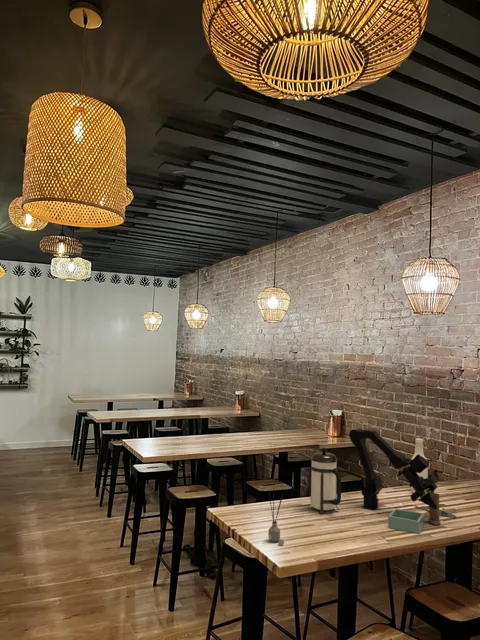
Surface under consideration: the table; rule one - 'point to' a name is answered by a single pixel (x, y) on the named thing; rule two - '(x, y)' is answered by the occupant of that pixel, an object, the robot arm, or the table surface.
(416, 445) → the alcohol
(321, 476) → the coffee press
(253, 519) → the table surface
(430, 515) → the brown tower block
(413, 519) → the green square tray
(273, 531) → the reed diffuser
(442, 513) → the driftwood
